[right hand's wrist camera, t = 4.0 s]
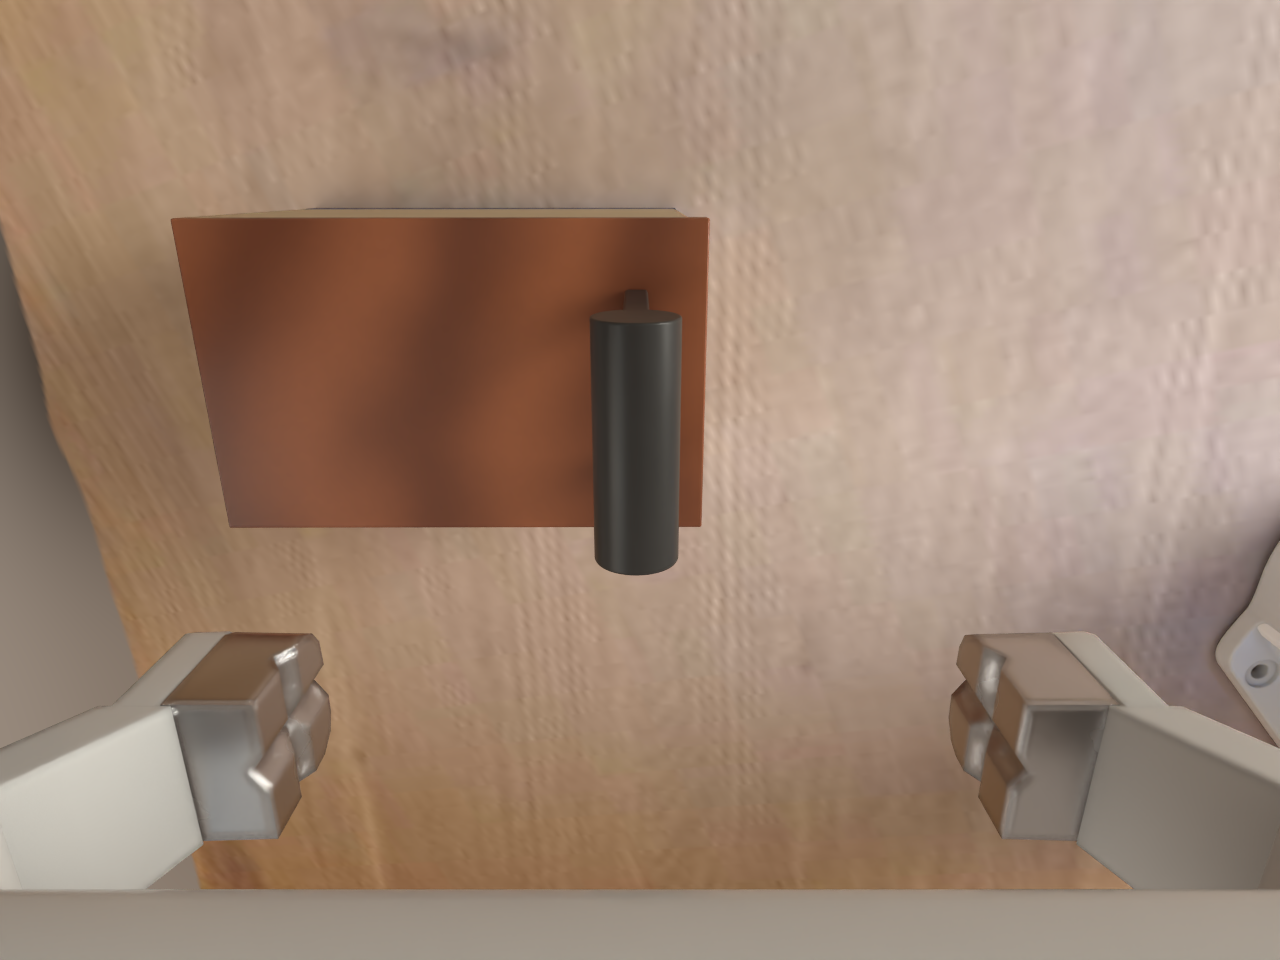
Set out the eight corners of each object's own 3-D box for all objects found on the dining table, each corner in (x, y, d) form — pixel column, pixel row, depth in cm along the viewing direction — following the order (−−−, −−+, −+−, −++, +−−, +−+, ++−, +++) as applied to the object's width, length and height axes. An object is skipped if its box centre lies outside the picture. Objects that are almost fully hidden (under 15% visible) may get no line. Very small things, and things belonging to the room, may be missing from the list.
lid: (707, 216, 25) (740, 231, 17) (699, 518, 28) (723, 644, 20) (184, 217, 25) (-25, 231, 17) (240, 518, 28) (88, 645, 20)
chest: (674, 208, 35) (689, 216, 25) (671, 431, 38) (683, 517, 28) (314, 208, 35) (184, 217, 25) (343, 432, 38) (240, 518, 28)
